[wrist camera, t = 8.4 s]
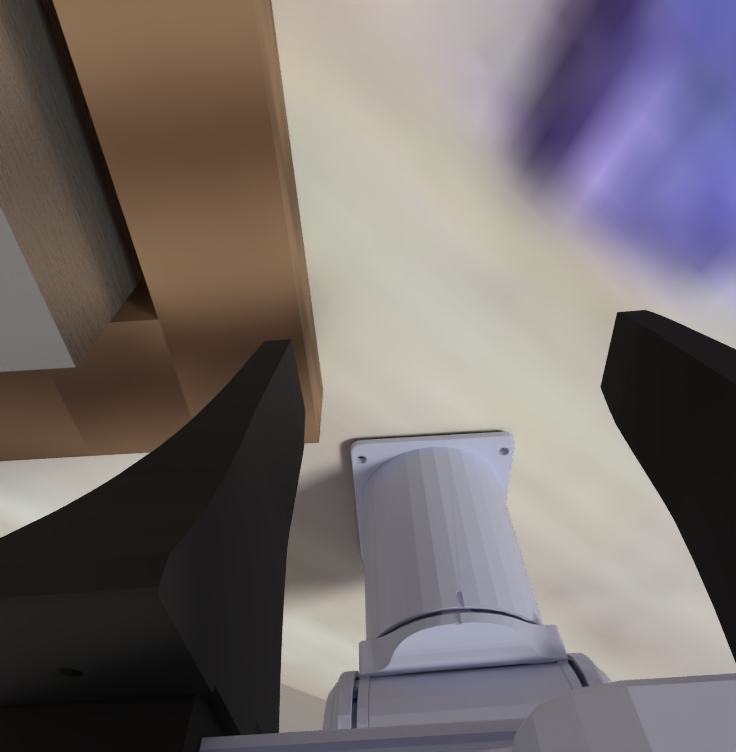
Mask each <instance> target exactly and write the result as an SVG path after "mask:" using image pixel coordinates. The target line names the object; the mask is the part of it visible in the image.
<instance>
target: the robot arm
mask: <svg viewBox="0 0 736 752" xmlns="http://www.w3.org/2000/svg"><path fill="white" fill-rule="evenodd" d="M601 390H602V392H603V395H604V397H605V400H606V402H607V405H608V407H609V410H610V412H611V414H612V416H613V419H614V421H615V423H616V425H617V427H618V428H619V430H620V432H621V434H622V435H623V437H624V438H625V440H626V442H627V443H628V445H629V447H630V448H631V450H632V452H633V453H634V455H635V456H636V458H637V460H638V461H639V463H640V464H641V466H642V468H643V469H644V471H645V472H646V474H647V476H648V477H649V479H650V480H651V482H652V484H653V485H654V487H655V488H656V490H657V492H658V493H659V495H660V497H661V498H662V500H663V501H664V503H665V505H666V506H667V508H668V510H669V512H670V514H671V515H672V517H673V519H674V521H675V523H676V525H677V527H678V529H679V531H680V533H681V535H682V537H683V539H684V541H685V544H686V546H687V548H688V550H689V552H690V554H691V556H692V558H693V560H694V563H695V565H696V567H697V569H698V572H699V574H700V576H701V579H702V581H703V583H704V586H705V588H706V590H707V592H708V595H709V597H710V599H711V602H712V604H713V606H714V609H715V611H716V614H717V616H718V619H719V621H720V624H721V626H722V629H723V631H724V634H725V637H726V639H727V642H728V644H729V647H730V649H731V652H732V654H733V657H734V659H735V662H736V349H734V348H731V347H729V346H727V345H725V344H723V343H721V342H718V341H716V340H714V339H712V338H710V337H708V336H705V335H703V334H701V333H699V332H697V331H695V330H692V329H690V328H688V327H686V326H684V325H682V324H679V323H677V322H675V321H673V320H670V319H668V318H666V317H663V316H661V315H658V314H656V313H653V312H650V311H647V310H640V311H628V312H617V316H616V320H615V325H614V329H613V334H612V338H611V343H610V347H609V352H608V356H607V361H606V365H605V370H604V374H603V379H602V383H601ZM304 435H305V406H304V401H303V396H302V390H301V385H300V380H299V375H298V370H297V365H296V359H295V354H294V349H293V344H292V339H286V340H274V341H264V342H263V344H262V345H261V346H260V347H259V348H258V349H257V350H256V351H255V353H254V354H253V355H252V356H251V357H250V358H249V360H248V361H247V362H246V363H245V364H244V365H243V366H242V368H241V369H240V370H239V371H238V372H237V373H236V375H235V376H234V377H233V378H232V379H231V380H230V381H229V382H228V383H227V384H226V386H225V387H224V388H223V389H222V390H221V391H220V392H219V393H218V394H217V395H216V396H215V397H214V398H213V399H212V400H211V401H210V402H209V403H208V404H207V405H206V406H205V407H204V408H203V409H202V410H201V411H200V412H199V413H198V414H197V415H196V416H195V417H194V418H193V419H191V420H190V421H189V422H188V423H187V424H186V425H185V426H183V427H182V428H181V429H180V430H179V431H178V432H176V433H175V434H174V435H173V436H171V437H170V438H169V439H168V440H166V441H165V442H164V443H163V444H161V445H160V446H159V447H157V448H156V449H155V450H153V451H152V452H151V453H149V454H148V455H146V456H145V457H143V458H142V459H140V460H139V461H138V462H136V463H135V464H133V465H132V466H130V467H129V468H127V469H126V470H124V471H123V472H122V473H120V474H119V475H117V476H116V477H114V478H112V479H111V480H109V481H108V482H106V483H104V484H103V485H101V486H99V487H98V488H96V489H94V490H93V491H91V492H89V493H87V494H86V495H84V496H82V497H80V498H79V499H77V500H75V501H73V502H71V503H70V504H68V505H66V506H64V507H62V508H60V509H59V510H57V511H55V512H53V513H51V514H49V515H47V516H45V517H43V518H41V519H39V520H37V521H34V522H32V523H30V524H28V525H26V526H24V527H22V528H20V529H18V530H16V531H14V532H12V533H10V534H8V535H6V536H4V537H1V538H0V752H736V673H735V674H719V675H703V676H687V677H672V678H656V679H640V680H624V681H616V682H612V681H611V680H610V678H609V677H608V676H607V675H606V674H605V673H604V672H603V671H602V670H600V669H599V668H598V667H597V666H596V665H595V664H594V662H593V661H592V660H591V659H590V658H589V657H587V656H586V655H584V654H582V653H569V654H566V651H565V648H564V645H563V641H562V638H561V635H560V632H559V629H558V626H556V625H544V624H543V621H542V618H541V615H540V611H539V608H538V605H537V602H536V598H535V595H534V592H533V588H532V585H531V582H530V579H529V575H528V572H527V569H526V566H525V562H524V559H523V556H522V553H521V549H520V546H519V543H518V540H517V536H516V533H515V530H514V527H513V523H512V520H511V517H510V514H509V510H508V507H507V504H506V501H507V494H508V487H509V480H510V474H511V467H512V460H513V453H514V447H515V440H514V437H513V435H512V434H511V433H509V432H490V433H473V434H456V435H439V436H422V437H404V438H387V439H370V440H358V441H355V442H353V443H352V445H351V462H352V472H353V481H354V491H355V501H356V510H357V520H358V529H359V539H360V549H361V558H362V560H363V561H364V565H365V609H366V641H361V642H360V643H359V672H358V671H348V672H344V673H342V674H341V676H340V678H339V680H338V682H337V683H336V685H335V686H334V687H333V689H332V690H331V691H330V693H329V695H328V698H327V702H326V706H325V713H324V721H323V730H319V731H303V732H287V733H279V706H280V673H281V647H282V625H283V606H284V588H285V573H286V558H287V546H288V538H289V531H290V525H291V519H292V514H293V508H294V502H295V497H296V491H297V485H298V480H299V474H300V468H301V462H302V456H303V450H304ZM502 448H505V449H504V450H500V449H502ZM359 456H364V458H358V457H359Z"/></svg>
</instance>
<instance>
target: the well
mask: <svg viewBox="0 0 736 752" xmlns="http://www.w3.org/2000/svg"><path fill="white" fill-rule="evenodd" d="M53 3H54V6H55V9H56V12H57V15H58V18H59V21H60V24H61V27H62V30H63V33H64V36H65V39H66V42H67V45H68V48H69V51H70V54H71V57H72V60H73V63H74V66H75V69H76V72H77V75H78V78H79V81H80V84H81V87H82V90H83V93H84V96H85V99H86V102H87V106H88V109H89V112H90V115H91V118H92V121H93V124H94V127H95V130H96V133H97V136H98V139H99V142H100V145H101V148H102V151H103V154H104V157H105V160H106V163H107V166H108V169H109V172H110V175H111V178H112V181H113V184H114V187H115V190H116V193H117V196H118V199H119V202H120V205H121V208H122V211H123V214H124V217H125V220H126V223H127V226H128V229H129V232H130V235H131V238H132V241H133V244H134V247H135V250H136V253H137V256H138V259H139V262H140V265H141V268H142V271H143V274H144V277H143V278H142V279H141V281H140V282H139V283H138V285H137V286H136V287H135V289H134V290H133V291H132V293H131V294H130V295H129V297H128V298H127V299H126V301H125V302H124V303H123V305H122V306H121V307H120V309H119V310H118V311H117V313H116V314H115V315H114V317H113V318H112V319H111V321H110V322H109V323H108V325H107V326H106V327H105V329H104V330H103V331H102V333H101V334H100V335H99V337H98V338H97V339H96V341H95V342H94V343H93V345H92V346H91V347H90V349H89V350H88V351H87V353H86V354H85V355H84V357H83V358H82V359H81V361H80V362H79V363H78V365H77V366H76V367H72V368H55V369H39V370H22V371H6V372H0V461H11V460H28V459H45V458H62V457H79V456H96V455H113V454H130V453H148V452H152V451H153V450H155V449H156V448H157V447H159V446H160V445H161V444H163V443H164V442H165V441H166V440H168V439H169V438H170V437H171V436H173V435H174V434H175V433H176V432H178V431H179V430H180V429H181V428H182V427H183V426H185V425H186V424H187V423H188V422H189V421H190V420H191V419H193V418H194V417H195V416H196V415H197V414H198V413H199V412H200V411H201V410H202V409H203V408H204V407H205V406H206V405H207V404H208V403H209V402H210V401H211V400H212V399H213V398H214V397H215V396H216V395H217V394H218V393H219V392H220V391H221V390H222V389H223V388H224V387H225V386H226V384H227V383H228V382H229V381H230V380H231V379H232V378H233V377H234V376H235V375H236V373H237V372H238V371H239V370H240V369H241V368H242V366H243V365H244V364H245V363H246V362H247V361H248V360H249V358H250V357H251V356H252V355H253V354H254V353H255V351H256V350H257V349H258V348H259V347H260V346H261V345H262V344H263V342H264V341H274V340H286V339H292V344H293V349H294V354H295V359H296V365H297V370H298V375H299V380H300V385H301V390H302V396H303V401H304V406H305V435H304V443H318V442H319V436H320V423H321V409H322V396H323V387H322V379H321V372H320V364H319V357H318V349H317V342H316V334H315V327H314V319H313V312H312V304H311V297H310V289H309V282H308V274H307V267H306V259H305V252H304V244H303V237H302V229H301V222H300V214H299V207H298V199H297V192H296V184H295V177H294V169H293V162H292V154H291V147H290V139H289V132H288V124H287V117H286V109H285V102H284V94H283V87H282V79H281V72H280V64H279V57H278V49H277V42H276V34H275V27H274V19H273V12H272V4H271V0H53Z"/></svg>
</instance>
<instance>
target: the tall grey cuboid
mask: <svg viewBox="0 0 736 752" xmlns="http://www.w3.org/2000/svg"><path fill="white" fill-rule="evenodd" d="M143 277H144V274H143V271H142V268H141V265H140V262H139V259H138V256H137V253H136V250H135V247H134V244H133V241H132V238H131V235H130V232H129V229H128V226H127V223H126V220H125V217H124V214H123V211H122V208H121V205H120V202H119V199H118V196H117V193H116V190H115V187H114V184H113V181H112V178H111V175H110V172H109V169H108V166H107V163H106V160H105V157H104V154H103V151H102V148H101V145H100V142H99V139H98V136H97V133H96V130H95V127H94V124H93V121H92V118H91V115H90V112H89V109H88V106H87V102H86V99H85V96H84V93H83V90H82V87H81V84H80V81H79V78H78V75H77V72H76V69H75V66H74V63H73V60H72V57H71V54H70V51H69V48H68V45H67V42H66V39H65V36H64V33H63V30H62V27H61V24H60V21H59V18H58V15H57V12H56V9H55V6H54V3H53V0H0V372H6V371H22V370H39V369H55V368H72V367H76V366H77V365H78V363H79V362H80V361H81V359H82V358H83V357H84V355H85V354H86V353H87V351H88V350H89V349H90V347H91V346H92V345H93V343H94V342H95V341H96V339H97V338H98V337H99V335H100V334H101V333H102V331H103V330H104V329H105V327H106V326H107V325H108V323H109V322H110V321H111V319H112V318H113V317H114V315H115V314H116V313H117V311H118V310H119V309H120V307H121V306H122V305H123V303H124V302H125V301H126V299H127V298H128V297H129V295H130V294H131V293H132V291H133V290H134V289H135V287H136V286H137V285H138V283H139V282H140V281H141V279H142V278H143Z"/></svg>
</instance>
